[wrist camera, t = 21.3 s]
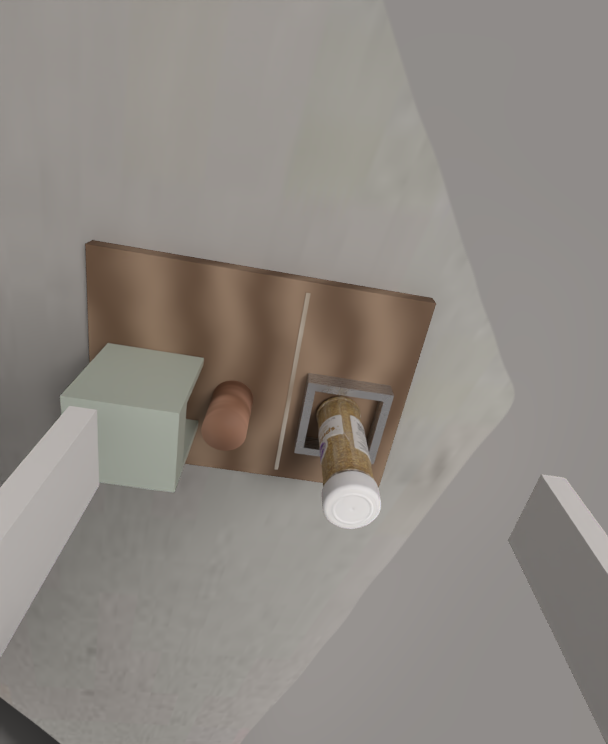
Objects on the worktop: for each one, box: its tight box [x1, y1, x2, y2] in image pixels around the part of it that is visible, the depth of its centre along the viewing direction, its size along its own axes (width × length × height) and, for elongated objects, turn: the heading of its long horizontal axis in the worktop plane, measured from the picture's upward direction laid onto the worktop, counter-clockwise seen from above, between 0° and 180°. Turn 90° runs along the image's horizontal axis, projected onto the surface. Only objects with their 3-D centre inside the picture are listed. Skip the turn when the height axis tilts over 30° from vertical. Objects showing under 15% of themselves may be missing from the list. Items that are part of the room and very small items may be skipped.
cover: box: [60, 343, 204, 493], centre depth 43 cm, size 9×8×10 cm
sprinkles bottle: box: [316, 396, 381, 529], centre depth 43 cm, size 5×5×13 cm
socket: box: [294, 373, 394, 464], centre depth 48 cm, size 8×8×2 cm
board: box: [85, 240, 436, 488], centre depth 45 cm, size 31×22×8 cm
